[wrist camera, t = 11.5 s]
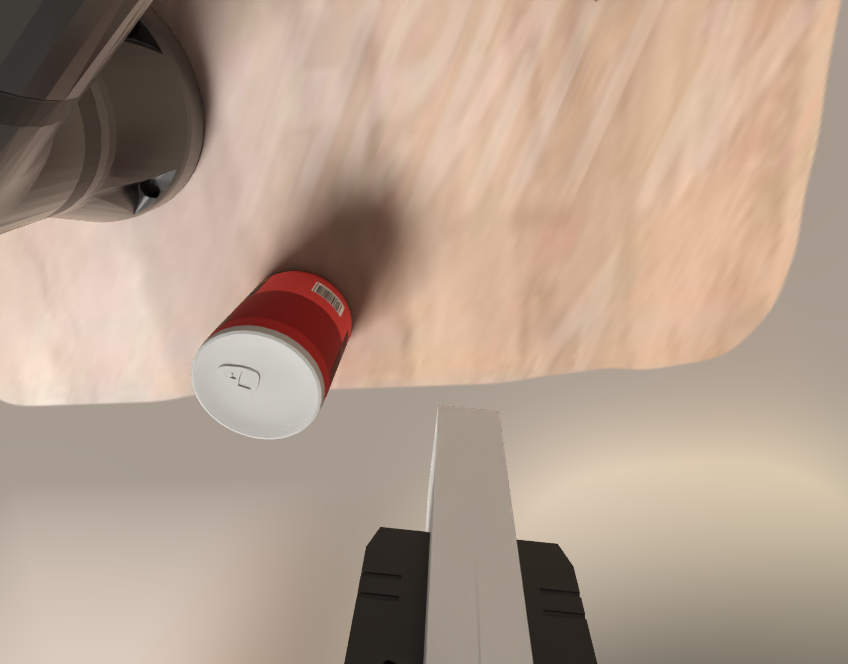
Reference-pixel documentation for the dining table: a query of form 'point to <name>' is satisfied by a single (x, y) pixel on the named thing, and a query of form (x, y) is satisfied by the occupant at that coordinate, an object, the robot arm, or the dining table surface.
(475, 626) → the robot arm
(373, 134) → the dining table surface
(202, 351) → the canned food
